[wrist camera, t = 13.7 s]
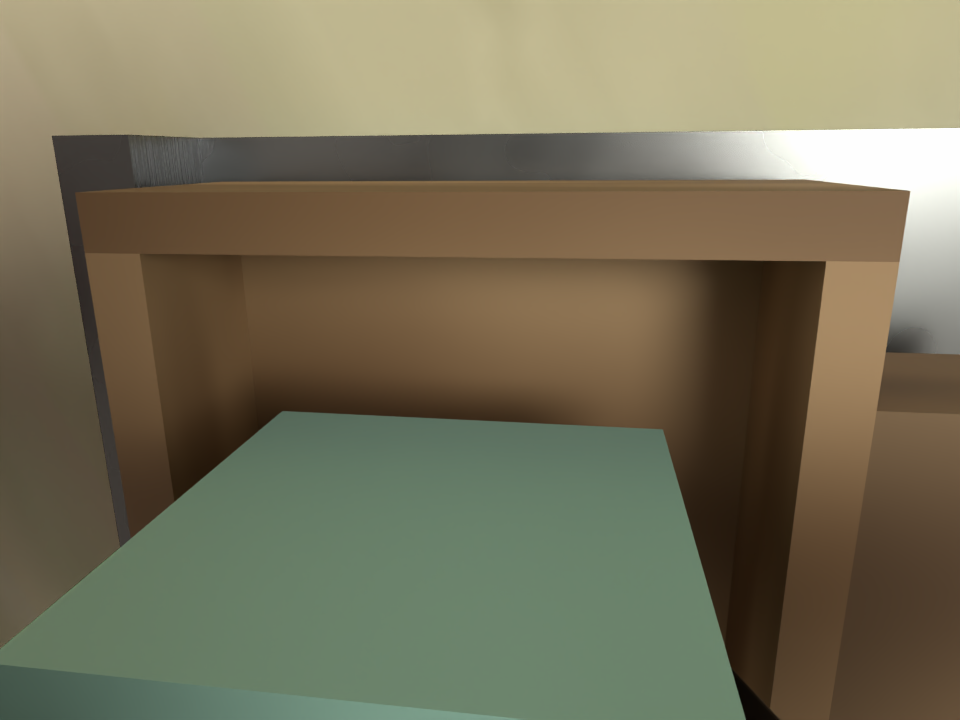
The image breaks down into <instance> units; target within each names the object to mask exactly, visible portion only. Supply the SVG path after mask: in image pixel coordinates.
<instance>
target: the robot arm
mask: <svg viewBox="0 0 960 720" xmlns="http://www.w3.org/2000/svg"><path fill="white" fill-rule="evenodd" d="M731 669H732V668H731ZM732 673H733V676H734V680H735V683H736V687H737V690H738V694H739V697H740V701H741V704H742V708H743V711H744V715H745V718H746V720H780V719H779V718H778V717H777V716H776V715H775V714H774V712H773V711H772V710H771V709H770V708H769V707H768V706H767V705H766V704H765V703H764V702H763V701H762V700H761V699H760V698H759V696H758V695H757V694H756V693H755V692H754V691H753V690H752V689H751V688H750V687H749V686H748V685H747V684H746V683H745V682H744V681H743V679H742V678H741V677H740V676H739V675H738V674H737V673H736V672H735V671H734V670H733V669H732Z"/></svg>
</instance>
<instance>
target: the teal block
mask: <svg viewBox="0 0 960 720" xmlns="http://www.w3.org/2000/svg"><path fill="white" fill-rule="evenodd" d="M0 720H746V718H745V715H744V711H743V708H742V704H741V701H740V697H739V694H738V690H737V687H736V683H735V680H734V676H733V673H732V669H731V666H730V662H729V659H728V655H727V652H726V648H725V645H724V641H723V638H722V634H721V631H720V628H719V624H718V621H717V617H716V614H715V610H714V607H713V603H712V600H711V596H710V593H709V589H708V586H707V582H706V579H705V575H704V572H703V568H702V565H701V561H700V558H699V554H698V551H697V547H696V544H695V540H694V537H693V533H692V530H691V526H690V523H689V519H688V516H687V512H686V509H685V505H684V502H683V498H682V495H681V491H680V488H679V484H678V481H677V477H676V474H675V470H674V467H673V463H672V460H671V456H670V453H669V449H668V446H667V442H666V439H665V435H664V432H663V429H644V428H623V427H603V426H582V425H561V424H540V423H520V422H499V421H478V420H457V419H436V418H416V417H395V416H374V415H353V414H333V413H312V412H291V411H282V412H281V413H279V414H278V415H277V416H276V417H275V418H274V419H272V420H271V421H270V422H269V423H268V424H266V425H265V426H264V427H263V428H262V429H260V430H259V431H258V432H257V433H256V434H255V435H253V436H252V437H251V438H250V439H249V440H247V441H246V442H245V443H244V444H243V445H241V446H240V447H239V448H238V449H237V450H236V451H234V452H233V453H232V454H231V455H230V456H228V457H227V458H226V459H225V460H224V461H222V462H221V463H220V464H219V465H218V466H217V467H215V468H214V469H213V470H212V471H211V472H209V473H208V474H207V475H206V476H205V477H203V478H202V479H201V480H200V481H199V482H198V483H196V484H195V485H194V486H193V487H192V488H190V489H189V490H188V491H187V492H186V493H184V494H183V495H182V496H181V497H180V498H179V499H177V500H176V501H175V502H174V503H173V504H171V505H170V506H169V507H168V508H167V509H165V510H164V511H163V512H162V513H161V514H160V515H158V516H157V517H156V518H155V519H154V520H152V521H151V522H150V523H149V524H148V525H146V526H145V527H144V528H143V529H142V530H141V531H139V532H138V533H137V534H136V535H135V536H133V537H132V538H131V539H130V540H129V541H127V542H126V543H125V544H124V545H123V546H122V547H120V548H119V549H118V550H117V551H116V552H114V553H113V554H112V555H111V556H110V557H108V558H107V559H106V560H105V561H104V562H103V563H101V564H100V565H99V566H98V567H97V568H95V569H94V570H93V571H92V572H91V573H89V574H88V575H87V576H86V577H85V578H84V579H82V580H81V581H80V582H79V583H78V584H76V585H75V586H74V587H73V588H72V589H71V590H69V591H68V592H67V593H66V594H65V595H63V596H62V597H61V598H60V599H59V600H57V601H56V602H55V603H54V604H53V605H52V606H50V607H49V608H48V609H47V610H46V611H44V612H43V613H42V614H41V615H40V616H38V617H37V618H36V619H35V620H34V621H33V622H31V623H30V624H29V625H28V626H27V627H25V628H24V629H23V630H22V631H21V632H19V633H18V634H17V635H16V636H15V637H14V638H12V639H11V640H10V641H9V642H8V643H6V644H5V645H4V646H3V647H2V648H0Z"/></svg>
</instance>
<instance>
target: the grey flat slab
mask: <svg viewBox="0 0 960 720" xmlns="http://www.w3.org/2000/svg"><path fill="white" fill-rule="evenodd" d="M52 139H53V145H54V151H55V157H56V163H57V169H58V175H59V181H60V187H61V193H62V199H63V205H64V211H65V217H66V223H67V229H68V235H69V241H70V247H71V253H72V259H73V265H74V271H75V277H76V283H77V289H78V295H79V301H80V307H81V313H82V319H83V325H84V331H85V337H86V343H87V349H88V355H89V361H90V367H91V373H92V379H93V385H94V391H95V397H96V403H97V409H98V415H99V421H100V427H101V433H102V439H103V446H104V452H105V458H106V464H107V470H108V476H109V482H110V488H111V494H112V500H113V506H114V512H115V518H116V524H117V530H118V536H119V542H120V547H122V546H123V545H124V544H125V543H126V542H127V541H129V540H130V539H131V537H130V530H129V524H128V518H127V512H126V506H125V499H124V493H123V487H122V481H121V475H120V468H119V462H118V456H117V450H116V444H115V437H114V431H113V425H112V419H111V413H110V406H109V400H108V394H107V388H106V381H105V375H104V369H103V363H102V357H101V350H100V344H99V338H98V332H97V326H96V319H95V313H94V307H93V301H92V295H91V288H90V282H89V276H88V270H87V264H86V257H85V251H84V245H83V239H82V233H81V226H80V220H79V214H78V208H77V202H76V195H75V192H88V191H102V190H115V189H129V188H143V187H156V186H170V185H184V184H197V183H211V182H274V181H528V180H782V179H806V180H815V181H824V182H833V183H843V184H852V185H861V186H870V187H879V188H888V189H897V190H907V191H911V192H910V198H909V204H908V211H907V217H906V224H905V230H904V237H903V243H902V250H901V256H900V263H899V269H898V276H897V282H896V289H895V295H894V302H893V308H892V315H891V321H890V327H889V334H888V340H887V347H886V352H889V353H925V354H960V128H942V129H864V130H787V131H709V132H631V133H554V134H476V135H398V136H320V137H243V138H187V137H165V136H142V135H81V136H52Z"/></svg>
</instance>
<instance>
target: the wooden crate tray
mask: <svg viewBox="0 0 960 720" xmlns="http://www.w3.org/2000/svg"><path fill="white" fill-rule="evenodd" d="M910 192H911V191H907V190H897V189H888V188H879V187H870V186H861V185H852V184H843V183H833V182H824V181H815V180H806V179H782V180H528V181H274V182H211V183H197V184H184V185H170V186H156V187H143V188H129V189H115V190H102V191H88V192H75V195H76V202H77V208H78V214H79V220H80V226H81V233H82V239H83V245H84V251H85V257H86V264H87V270H88V276H89V282H90V288H91V295H92V301H93V307H94V313H95V319H96V326H97V332H98V338H99V344H100V350H101V357H102V363H103V369H104V375H105V381H106V388H107V394H108V400H109V406H110V413H111V419H112V425H113V431H114V437H115V444H116V450H117V456H118V462H119V468H120V475H121V481H122V487H123V493H124V499H125V506H126V512H127V518H128V524H129V530H130V537H131V538H132V537H133V536H135V535H136V534H137V533H138V532H139V531H141V530H142V529H143V528H144V527H145V526H146V525H148V524H149V523H150V522H151V521H152V520H154V519H155V518H156V517H157V516H158V515H160V514H161V513H162V512H163V511H164V510H165V509H167V508H168V507H169V506H170V505H171V504H173V503H174V502H175V501H176V500H177V499H179V498H180V497H181V496H182V495H183V494H184V493H186V492H187V491H188V490H189V489H190V488H192V487H193V486H194V485H195V484H196V483H198V482H199V481H200V480H201V479H202V478H203V477H205V476H206V475H207V474H208V473H209V472H211V471H212V470H213V469H214V468H215V467H217V466H218V465H219V464H220V463H221V462H222V461H224V460H225V459H226V458H227V457H228V456H230V455H231V454H232V453H233V452H234V451H236V450H237V449H238V448H239V447H240V446H241V445H243V444H244V443H245V442H246V441H247V440H249V439H250V438H251V437H252V436H253V435H255V434H256V433H257V432H258V431H259V430H260V429H262V428H263V427H264V426H265V425H266V424H268V423H269V422H270V421H271V420H272V419H274V418H275V417H276V416H277V415H278V414H279V413H281V412H282V411H291V412H312V413H333V414H353V415H374V416H395V417H416V418H436V419H457V420H478V421H499V422H520V423H540V424H561V425H582V426H603V427H623V428H644V429H663V432H664V435H665V439H666V442H667V446H668V449H669V453H670V456H671V460H672V463H673V467H674V470H675V474H676V477H677V481H678V484H679V488H680V491H681V495H682V498H683V502H684V505H685V509H686V512H687V516H688V519H689V523H690V526H691V530H692V533H693V537H694V540H695V544H696V547H697V551H698V554H699V558H700V561H701V565H702V568H703V572H704V575H705V579H706V582H707V586H708V589H709V593H710V596H711V600H712V603H713V607H714V610H715V614H716V617H717V621H718V624H719V628H720V631H721V634H722V638H723V641H724V645H725V648H726V652H727V655H728V659H729V662H730V666H731V668H732V669H733V670H734V671H735V672H736V673H737V674H738V675H739V676H740V677H741V678H742V679H743V681H744V682H745V683H746V684H747V685H748V686H749V687H750V688H751V689H752V690H753V691H754V692H755V693H756V694H757V695H758V696H759V698H760V699H761V700H762V701H763V702H764V703H765V704H766V705H767V706H768V707H769V708H770V709H771V710H772V711H773V712H774V714H775V715H776V716H777V717H778V718H779V719H780V720H960V354H925V353H889V352H886V347H887V340H888V334H889V327H890V321H891V315H892V308H893V302H894V295H895V289H896V282H897V276H898V269H899V263H900V256H901V250H902V243H903V237H904V230H905V224H906V217H907V211H908V204H909V198H910Z"/></svg>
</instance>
